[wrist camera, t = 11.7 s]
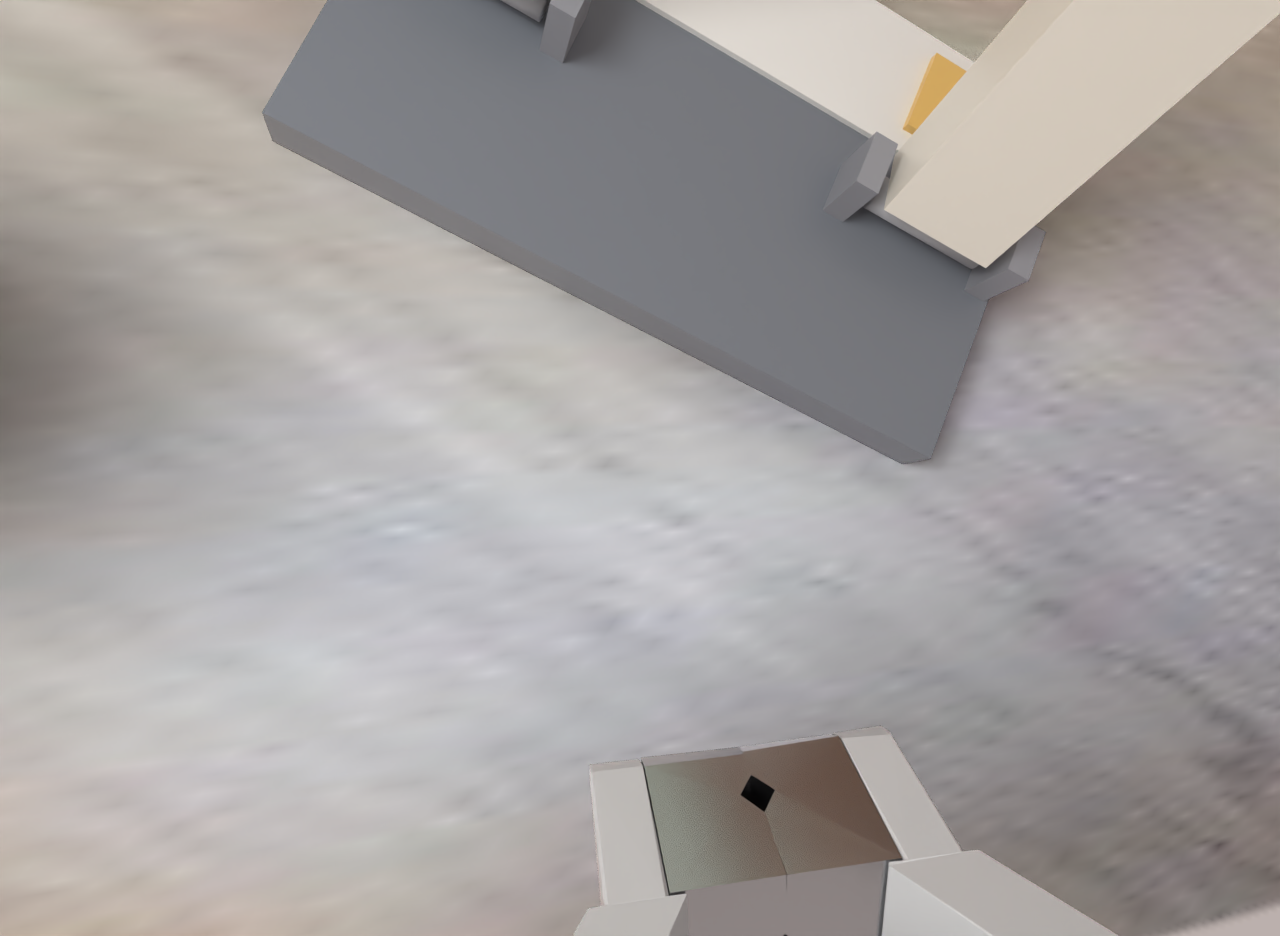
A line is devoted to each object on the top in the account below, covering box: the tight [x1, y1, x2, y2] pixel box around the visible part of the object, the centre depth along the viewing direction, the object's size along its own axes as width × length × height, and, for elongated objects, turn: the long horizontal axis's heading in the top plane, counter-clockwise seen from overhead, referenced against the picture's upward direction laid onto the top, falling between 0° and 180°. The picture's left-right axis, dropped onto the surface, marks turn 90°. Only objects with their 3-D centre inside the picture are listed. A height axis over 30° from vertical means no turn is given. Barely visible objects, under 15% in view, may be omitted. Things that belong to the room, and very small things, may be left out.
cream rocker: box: [863, 0, 1280, 269], centre depth 19 cm, size 2×4×15 cm, turn 69°
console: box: [262, 0, 1046, 464], centre depth 24 cm, size 12×20×4 cm, turn 67°
